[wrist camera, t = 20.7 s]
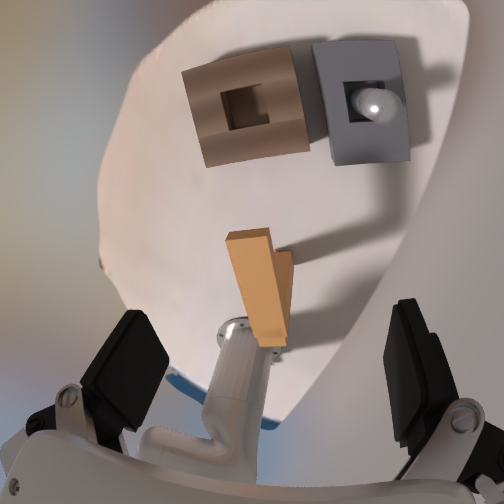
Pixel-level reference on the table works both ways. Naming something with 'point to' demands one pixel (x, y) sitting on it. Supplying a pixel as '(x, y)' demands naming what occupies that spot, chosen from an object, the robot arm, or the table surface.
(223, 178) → the table surface
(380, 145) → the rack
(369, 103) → the grey metal rod
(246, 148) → the socket block
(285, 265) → the orange angle bracket
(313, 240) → the table surface
